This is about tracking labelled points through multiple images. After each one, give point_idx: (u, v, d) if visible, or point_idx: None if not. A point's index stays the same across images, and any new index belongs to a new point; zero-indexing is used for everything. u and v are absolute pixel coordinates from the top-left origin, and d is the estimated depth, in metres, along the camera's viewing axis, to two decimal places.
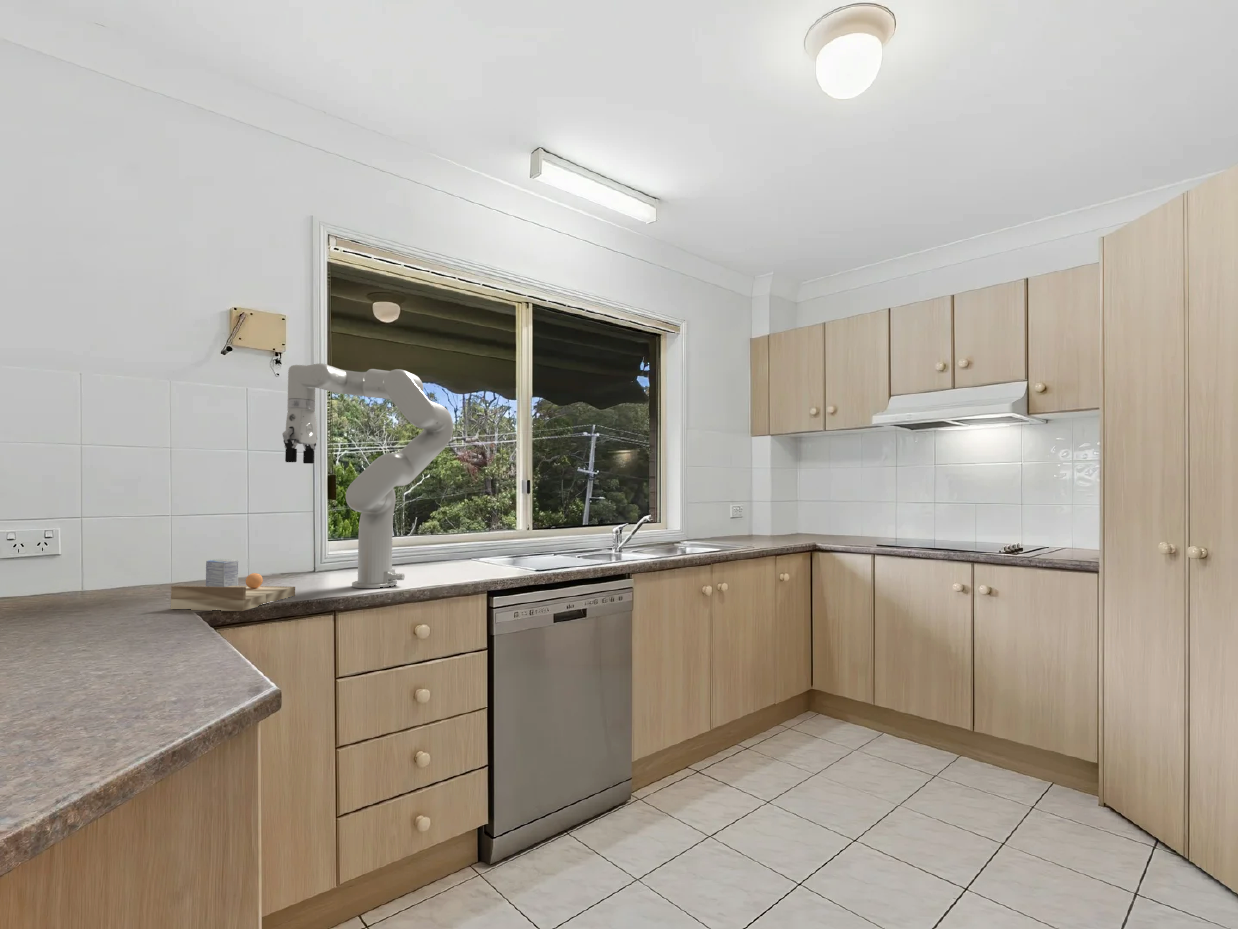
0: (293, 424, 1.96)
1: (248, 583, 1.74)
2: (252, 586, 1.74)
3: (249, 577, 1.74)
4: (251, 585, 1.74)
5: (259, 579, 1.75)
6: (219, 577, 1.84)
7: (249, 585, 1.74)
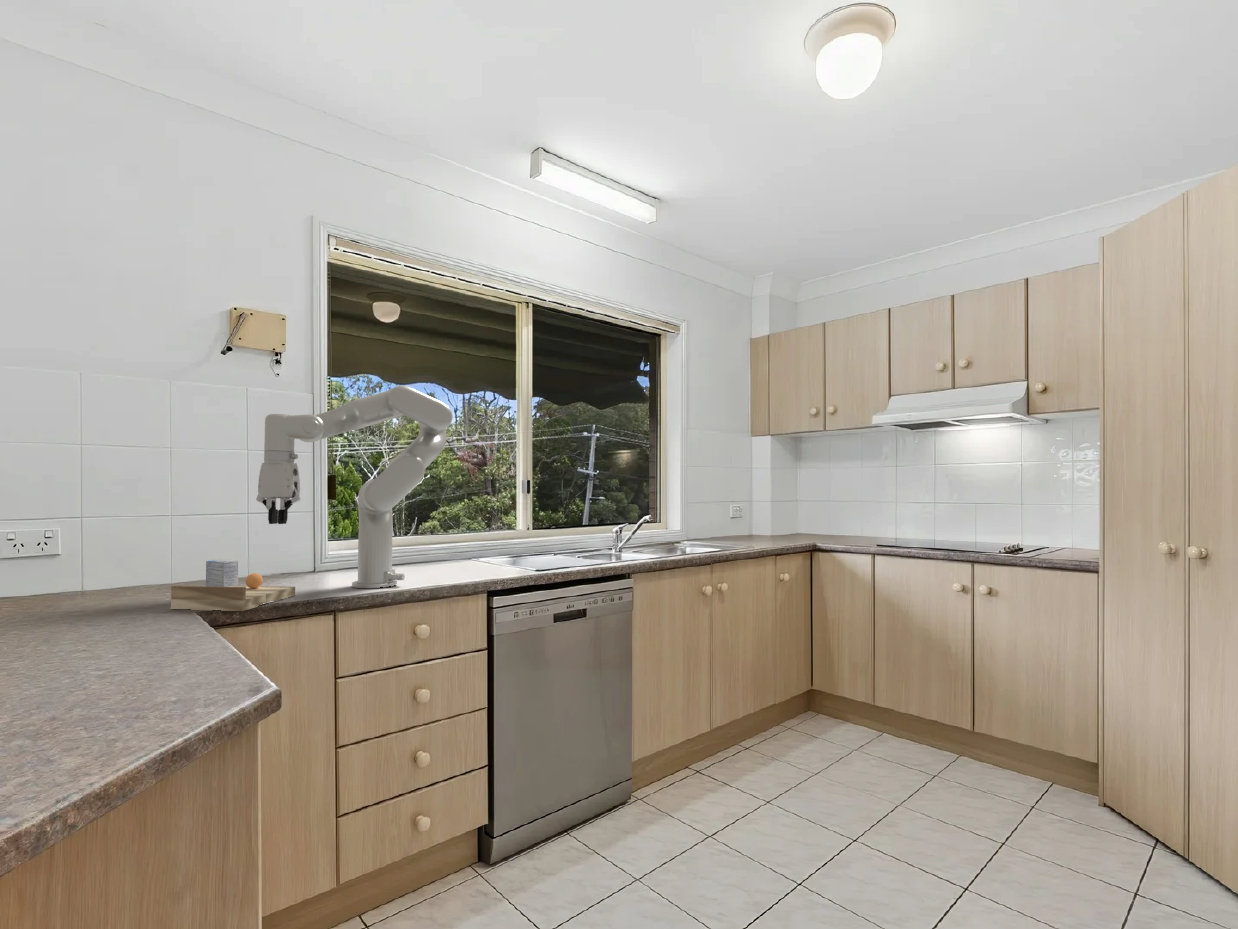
0: (296, 479, 1.87)
1: (248, 583, 1.74)
2: (252, 586, 1.74)
3: (249, 577, 1.74)
4: (251, 585, 1.74)
5: (259, 579, 1.75)
6: (219, 577, 1.84)
7: (249, 585, 1.74)
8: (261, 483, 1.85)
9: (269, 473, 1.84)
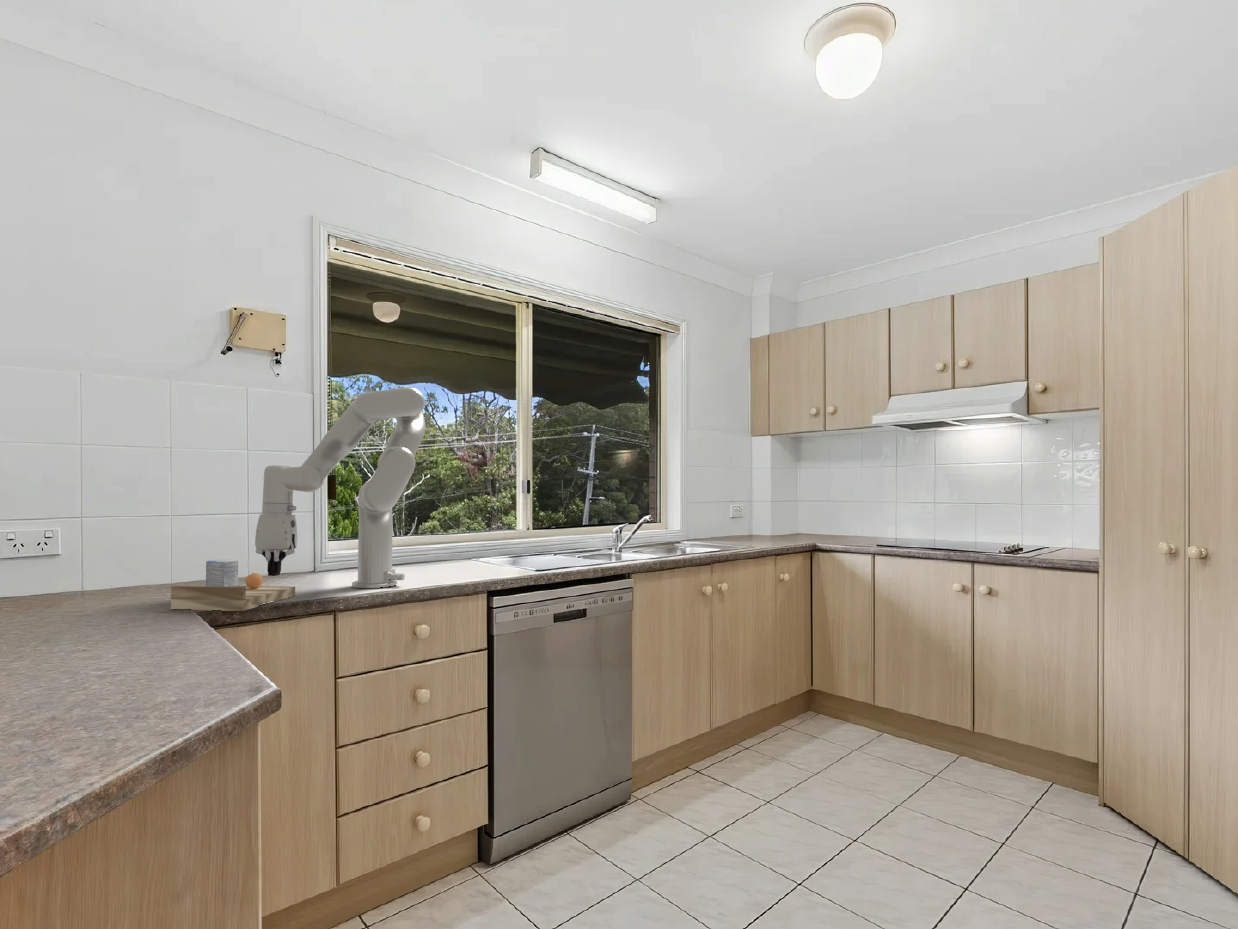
0: (294, 531, 1.86)
1: (248, 583, 1.74)
2: (252, 586, 1.74)
3: (249, 577, 1.74)
4: (251, 585, 1.74)
5: (259, 579, 1.75)
6: (219, 577, 1.84)
7: (249, 585, 1.74)
8: (258, 534, 1.84)
9: (266, 525, 1.84)
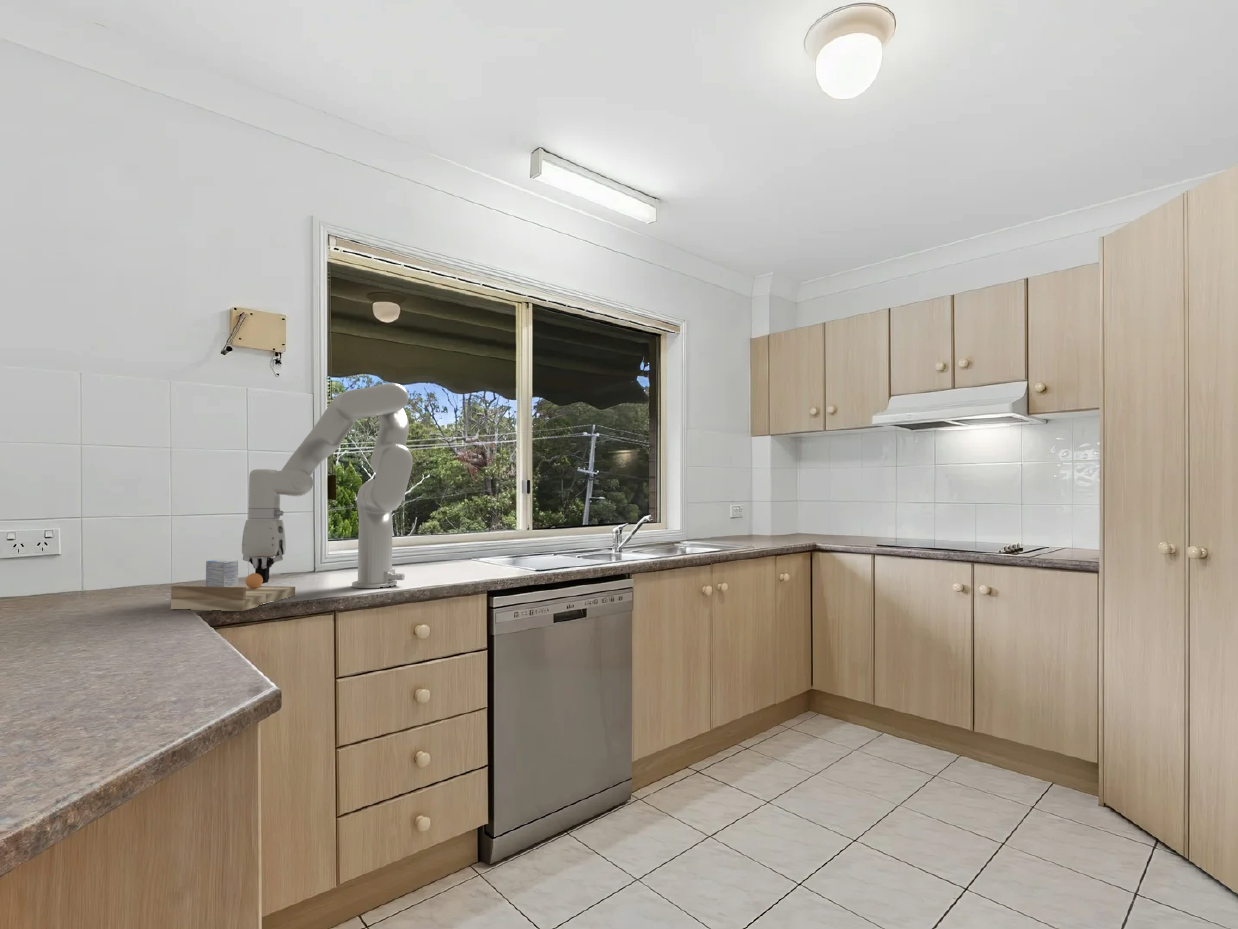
0: (282, 537, 1.80)
1: (248, 583, 1.74)
2: (252, 586, 1.74)
3: (249, 577, 1.74)
4: (251, 585, 1.74)
5: (259, 579, 1.75)
6: (219, 577, 1.84)
7: (249, 585, 1.74)
8: (244, 541, 1.78)
9: (253, 531, 1.77)
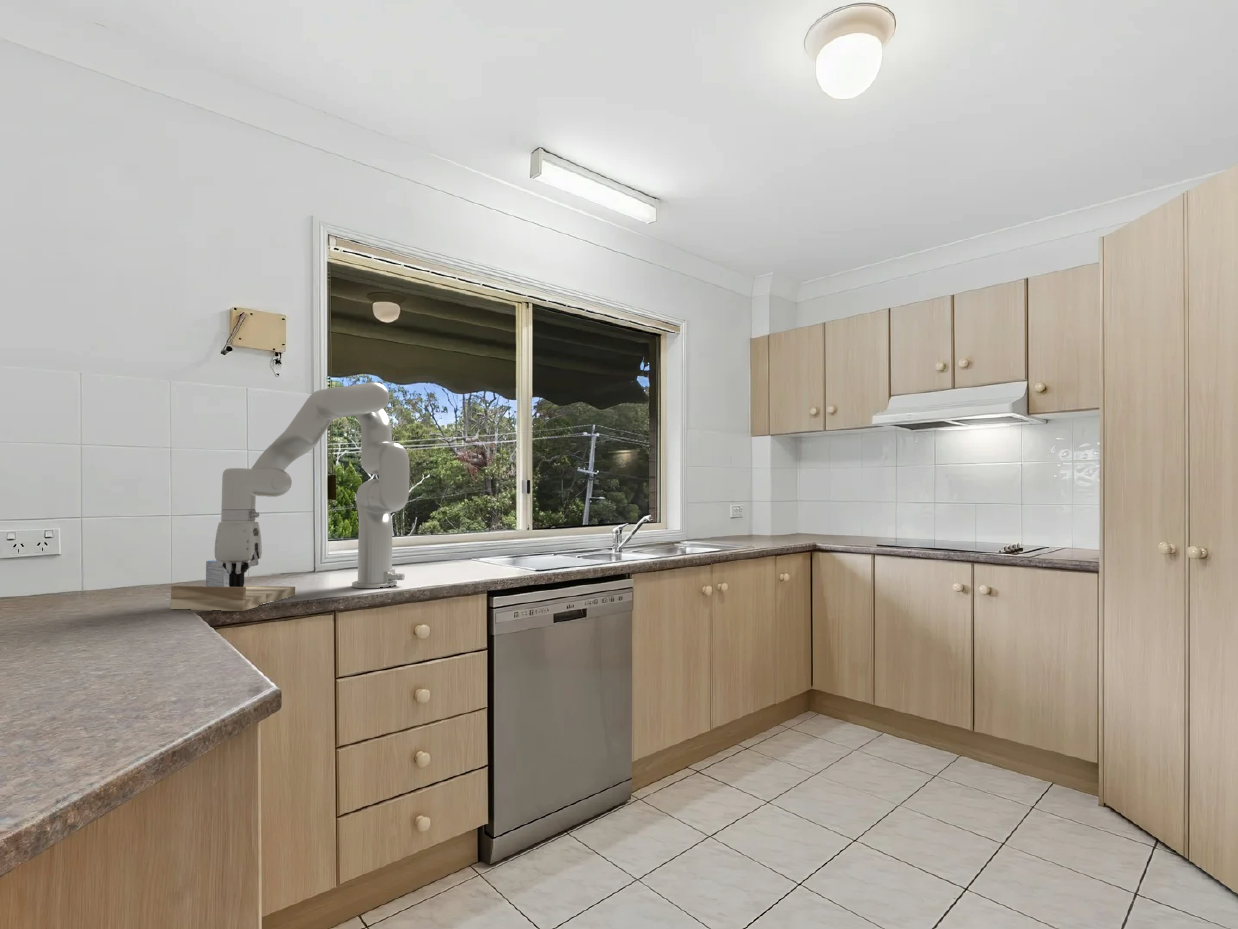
0: (257, 540, 1.69)
1: None
2: None
3: None
4: None
5: None
6: (219, 577, 1.84)
7: None
8: (217, 545, 1.67)
9: (226, 534, 1.67)
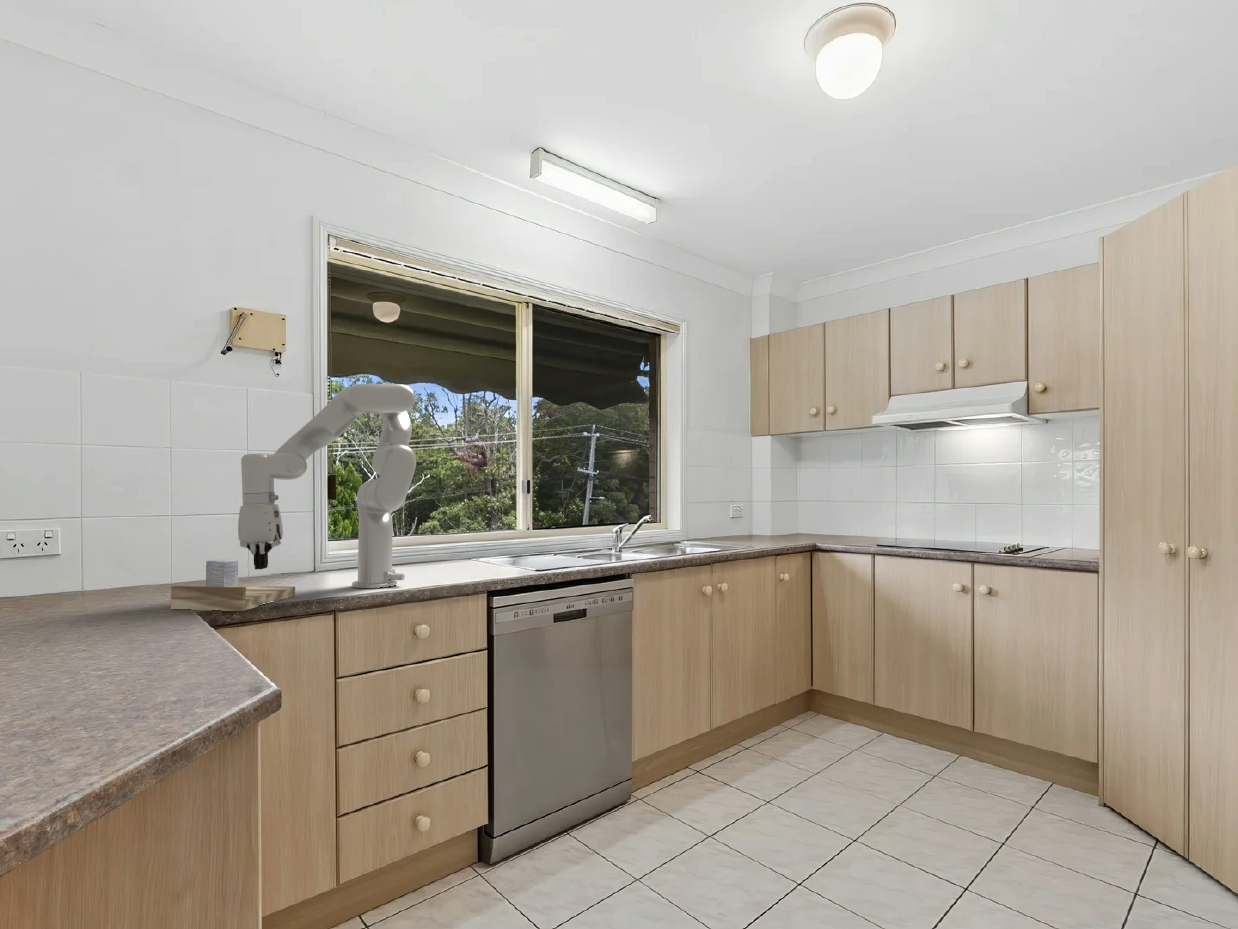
0: (278, 521, 1.77)
1: None
2: None
3: None
4: None
5: None
6: (219, 577, 1.84)
7: None
8: (241, 527, 1.75)
9: (248, 517, 1.75)
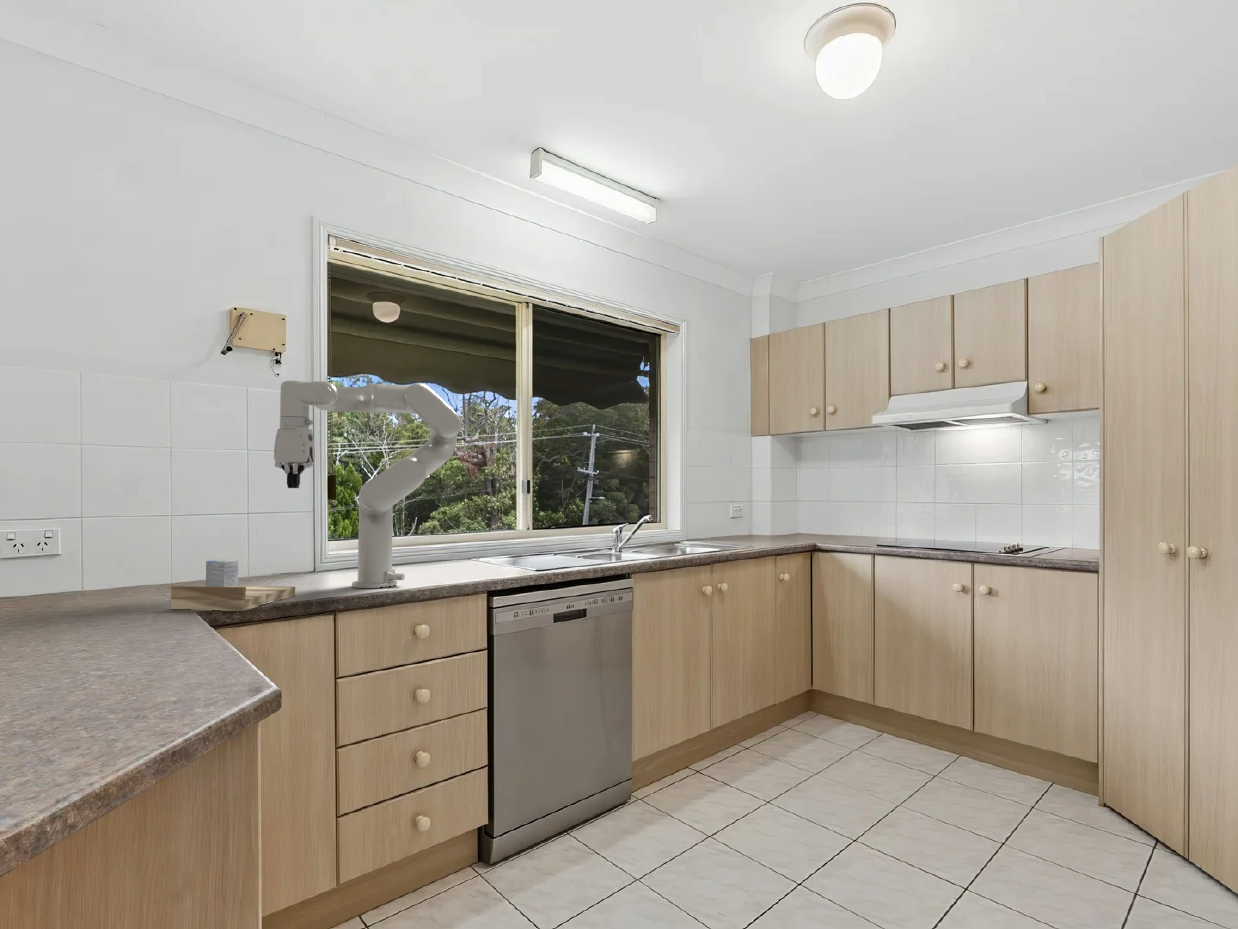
0: (311, 445, 1.91)
1: None
2: None
3: None
4: None
5: None
6: (219, 577, 1.84)
7: None
8: (277, 448, 1.89)
9: (284, 438, 1.88)
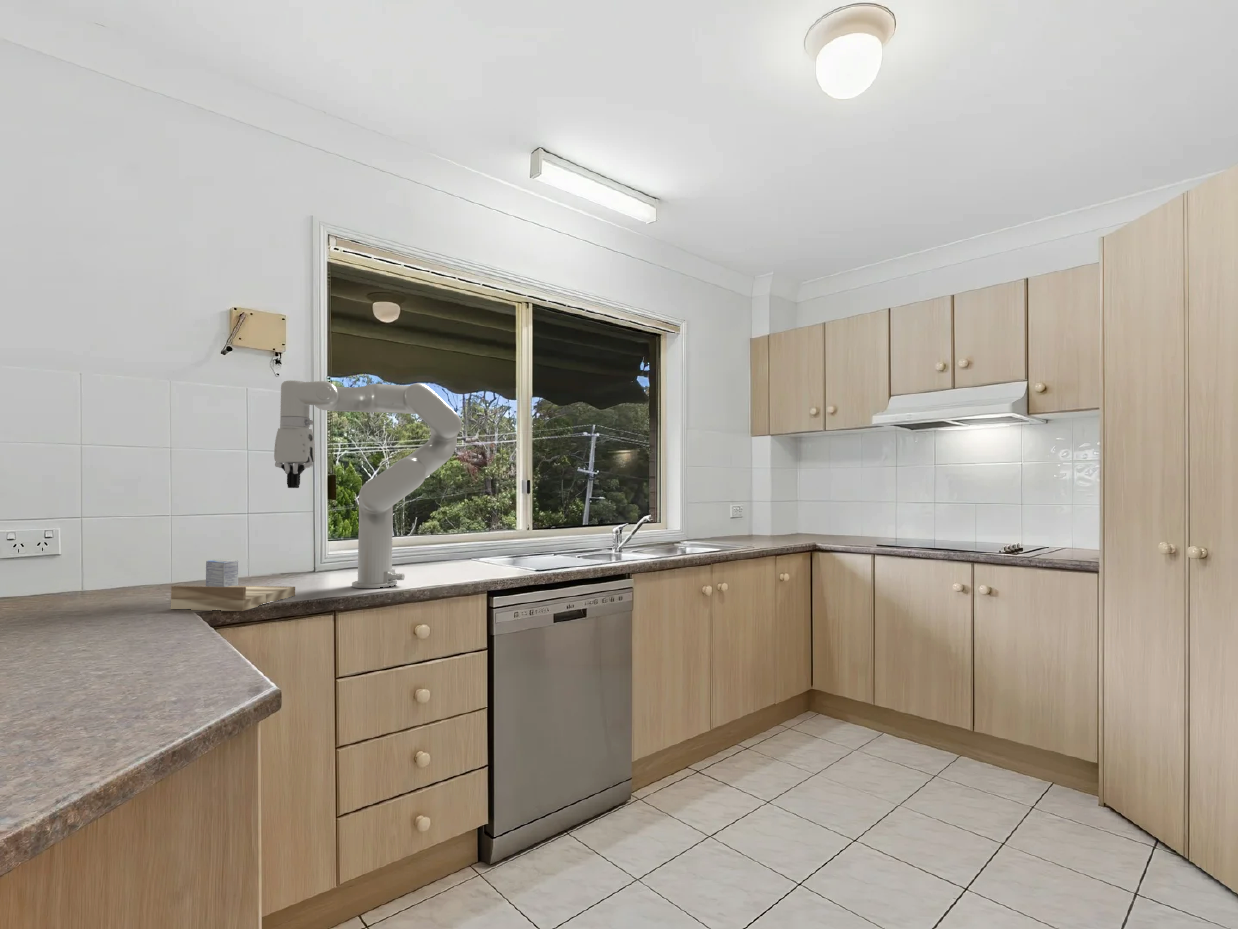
0: (312, 444, 1.91)
1: None
2: None
3: None
4: None
5: None
6: (219, 577, 1.84)
7: None
8: (277, 448, 1.89)
9: (285, 438, 1.88)
